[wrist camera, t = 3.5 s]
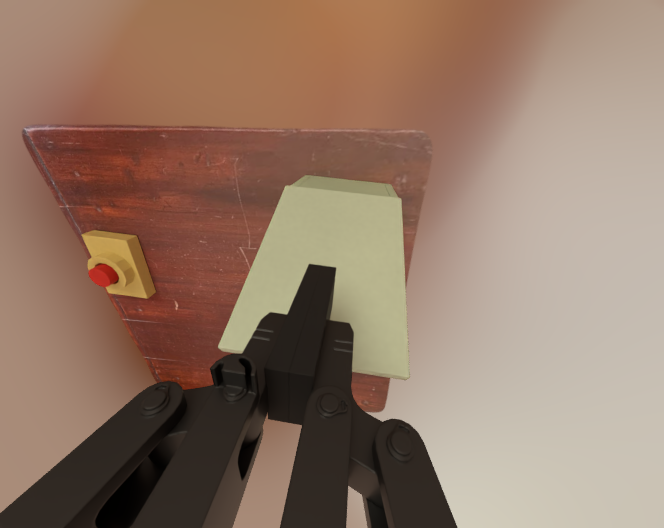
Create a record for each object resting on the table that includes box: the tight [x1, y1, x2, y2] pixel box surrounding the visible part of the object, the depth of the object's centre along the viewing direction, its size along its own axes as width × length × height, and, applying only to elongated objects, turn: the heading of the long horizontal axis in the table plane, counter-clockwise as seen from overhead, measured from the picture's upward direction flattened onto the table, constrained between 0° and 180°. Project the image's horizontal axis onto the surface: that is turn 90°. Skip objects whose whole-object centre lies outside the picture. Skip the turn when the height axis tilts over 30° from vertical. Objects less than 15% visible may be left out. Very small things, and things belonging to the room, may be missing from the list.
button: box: [89, 264, 119, 287], centre depth 40 cm, size 4×4×2 cm
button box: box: [82, 230, 156, 299], centre depth 42 cm, size 12×8×4 cm, turn 175°
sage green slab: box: [218, 185, 410, 380], centre depth 19 cm, size 17×12×1 cm
